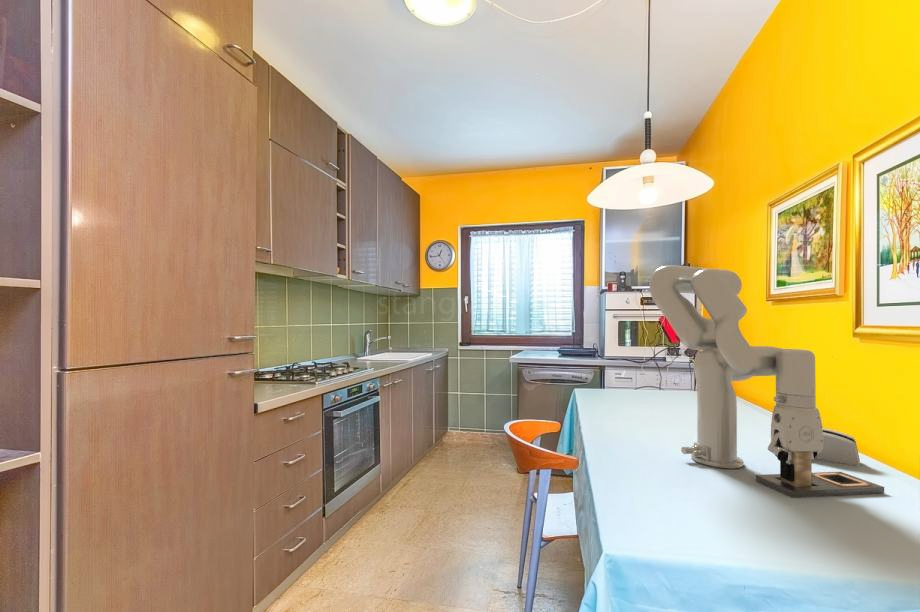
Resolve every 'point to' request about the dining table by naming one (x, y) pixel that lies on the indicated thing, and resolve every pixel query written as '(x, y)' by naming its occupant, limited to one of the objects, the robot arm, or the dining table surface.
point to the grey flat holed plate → (822, 485)
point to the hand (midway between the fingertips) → (795, 478)
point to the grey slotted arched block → (839, 448)
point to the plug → (801, 469)
